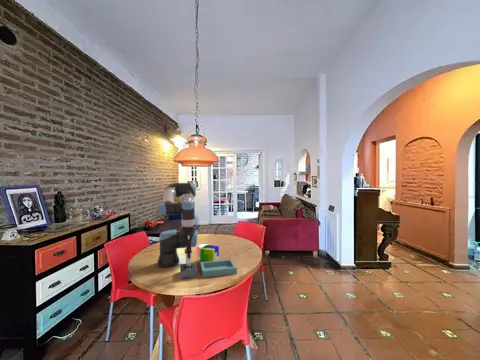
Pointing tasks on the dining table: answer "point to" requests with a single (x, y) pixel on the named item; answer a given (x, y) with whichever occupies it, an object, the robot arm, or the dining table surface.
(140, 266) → the dining table surface
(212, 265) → the tray
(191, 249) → the pin
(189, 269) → the block
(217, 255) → the puzzle toy
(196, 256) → the dining table surface
